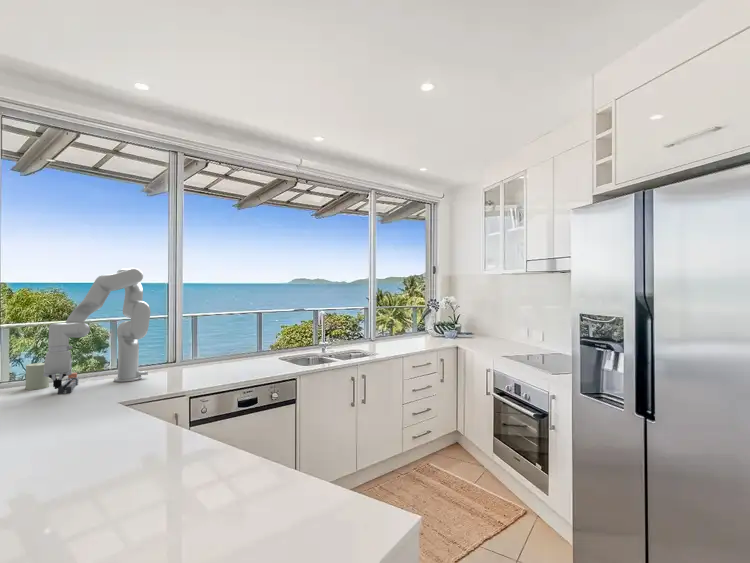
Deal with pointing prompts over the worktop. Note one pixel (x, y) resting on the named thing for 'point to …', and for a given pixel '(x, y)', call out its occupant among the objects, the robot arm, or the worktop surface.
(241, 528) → the worktop surface
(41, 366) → the can
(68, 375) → the tab
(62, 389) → the bar
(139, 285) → the robot arm
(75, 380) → the tongs fixed
